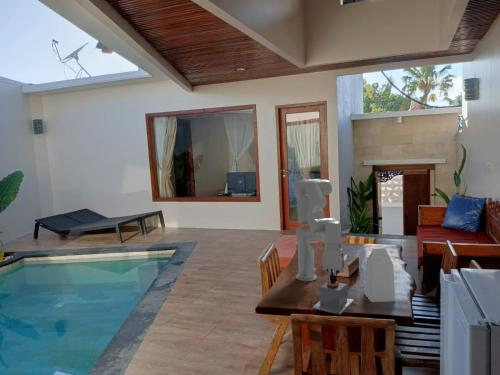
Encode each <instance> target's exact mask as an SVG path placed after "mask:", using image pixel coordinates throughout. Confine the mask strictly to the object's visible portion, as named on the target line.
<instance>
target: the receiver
mask: <svg viewBox="0 0 500 375" xmlns="http://www.w3.org/2000/svg"><path fill="white" fill-rule="evenodd" d="M328 281H329V280H327V281H325V283H323V284H322V285H320V286H319V301H318V302H317V303H315V304H314V305H313V306H312V309H314V310H319V311H324V312H327V313H331V314H335V315H336V314H337V315H340V316H341V315H342V314H343V313H344V312H345V311H346V310H347V309H348V308H349V307H350V306H352V305H353V303H354V302H355V300H354V299H353V298H348V284H347V283H342V282H339V286H338V287H336V288H334V287H328V286H327V282H328Z"/></svg>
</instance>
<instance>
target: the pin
mask: <svg viewBox="0 0 500 375" xmlns="http://www.w3.org/2000/svg"><path fill="white" fill-rule="evenodd" d="M327 281H328V282H327ZM327 281H326V282H327V286H328V287H334V288H336V287H338V286H339V283H340V282H339V281H336V282H335V283H331V281H330V280H327Z"/></svg>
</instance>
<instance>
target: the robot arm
mask: <svg viewBox="0 0 500 375" xmlns="http://www.w3.org/2000/svg"><path fill="white" fill-rule="evenodd" d="M332 191H333V186H332V183H331V182H330V181H329V180H328V179H326V178H325V179H324V178H305V179H298V180H296V181H295V182H294V183H293V193H294V196H295V199H296V207H297V208H296V210H297V220H298V223H299V224H301V225H304V226H299V227H298V228H296V231H295V235H296V236H295V237H296V242H297V265H298V268H297V270H298V271H297V272H298V273H297V274H296V275H295V278H296V280H298V281H301V282H312V281H316V280H317V279H318V276H317V274H315V272H316V271H317V268H316V267H315V250H314V249H315V248H314V247H313V245H311V243H314V242H315V243H316V242H322V241H324V245H325V246H324V248H323V251H322V270H324V271H326V272H327V273H328V275H329V281H331V283H335V282H336V281H337V280H338V274H340V273H344V272H345V266H346V264H345V255H344V250H343V248H344V245H343V244H342V238H341V237H342V234H341V233H342V232H341V229H342V227H341V222H340V221H338V220H337V219H336V218H334V217H325V216H326V215H325V210H323V209H324V208H325V207H327V204H328V203H327V202H328V201H327V198H326V196H328V195H331V193H332ZM306 224H307V225H306ZM337 282H338V281H337Z"/></svg>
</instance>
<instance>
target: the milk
mask: <svg viewBox="0 0 500 375" xmlns="http://www.w3.org/2000/svg"><path fill="white" fill-rule="evenodd" d="M394 268H395V267H394V263H393V261H392V259H391V256H390V254H389V253H388V251H387V249H386V248H385V247H373V248H372V250H371V252H370V254H369V255H368V257H367V258H366V260H365V273H364V288H363V289H364V291H363V293H364V295H365V296H366V298H367V297H368V298H367V299H368V300H369V301H370V302H371V303H382V302H384V303H385V302H396V294H395V293H396V292H395V272H394V270H395V269H394Z"/></svg>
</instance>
